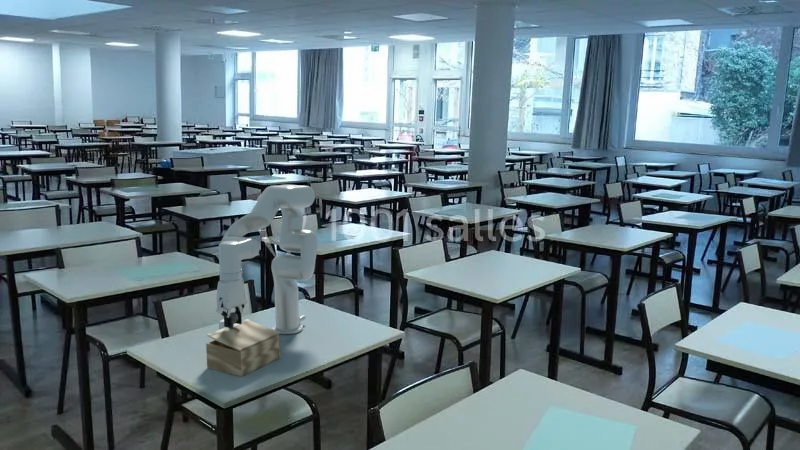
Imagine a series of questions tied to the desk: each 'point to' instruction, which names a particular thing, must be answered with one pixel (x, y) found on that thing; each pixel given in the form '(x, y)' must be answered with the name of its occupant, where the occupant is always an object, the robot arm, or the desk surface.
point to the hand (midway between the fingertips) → (233, 324)
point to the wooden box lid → (242, 334)
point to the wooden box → (242, 356)
